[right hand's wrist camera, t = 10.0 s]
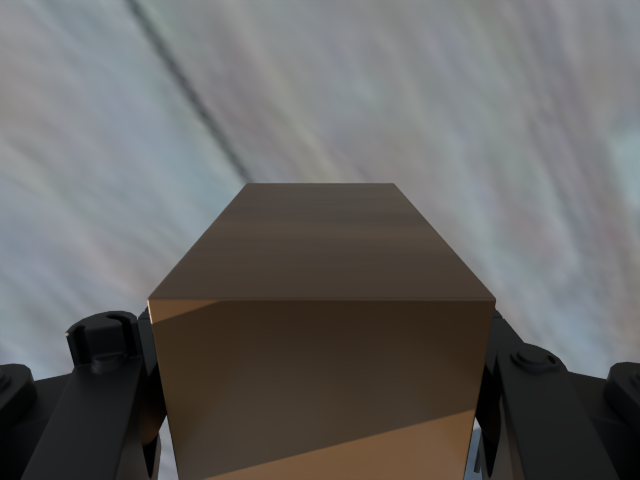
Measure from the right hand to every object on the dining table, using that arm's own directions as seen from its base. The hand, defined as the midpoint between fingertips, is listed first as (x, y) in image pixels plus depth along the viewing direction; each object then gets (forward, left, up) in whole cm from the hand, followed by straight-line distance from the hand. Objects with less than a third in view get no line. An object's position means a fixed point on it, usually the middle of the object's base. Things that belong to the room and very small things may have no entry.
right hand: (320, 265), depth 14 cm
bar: (+7, +4, -1) cm, 8 cm away
